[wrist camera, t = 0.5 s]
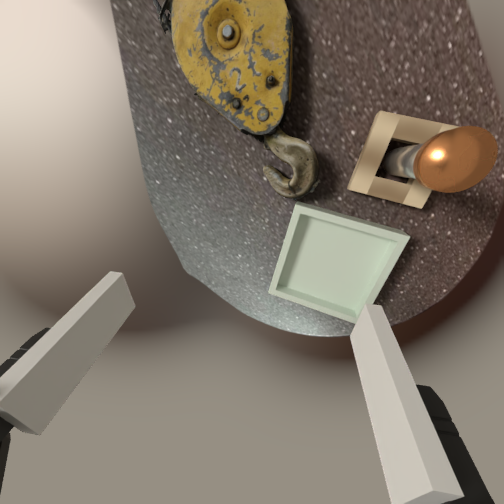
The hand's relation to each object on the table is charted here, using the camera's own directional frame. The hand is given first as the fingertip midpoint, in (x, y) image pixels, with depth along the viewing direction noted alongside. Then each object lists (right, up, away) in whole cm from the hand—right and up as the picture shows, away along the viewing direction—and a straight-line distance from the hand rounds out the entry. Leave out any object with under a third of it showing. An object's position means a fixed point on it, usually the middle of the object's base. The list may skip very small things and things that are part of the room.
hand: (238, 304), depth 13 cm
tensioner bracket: (+19, +14, +16) cm, 29 cm away
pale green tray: (+13, +2, +23) cm, 26 cm away
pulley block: (+1, +24, +18) cm, 30 cm away
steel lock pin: (+19, +14, +16) cm, 29 cm away
